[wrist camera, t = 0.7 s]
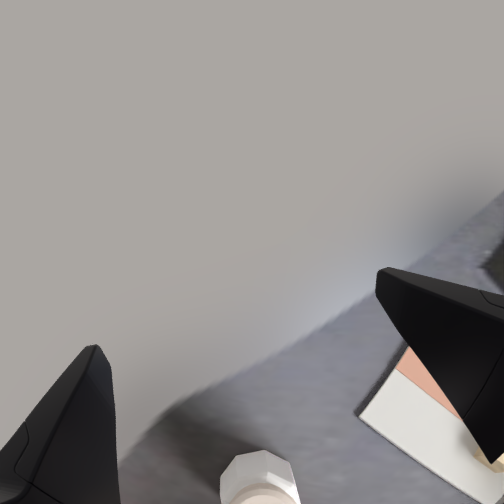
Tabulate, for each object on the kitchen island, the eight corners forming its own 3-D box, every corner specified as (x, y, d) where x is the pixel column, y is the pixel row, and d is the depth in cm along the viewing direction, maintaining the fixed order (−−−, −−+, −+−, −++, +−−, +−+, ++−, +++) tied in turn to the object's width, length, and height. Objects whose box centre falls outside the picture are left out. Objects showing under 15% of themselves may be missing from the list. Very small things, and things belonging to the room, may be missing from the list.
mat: (542, 392, 17) (545, 390, 17) (491, 510, 12) (494, 510, 11) (436, 296, 25) (438, 294, 25) (357, 417, 19) (360, 416, 19)
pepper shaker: (205, 473, 17) (162, 497, 8) (266, 435, 19) (279, 430, 10) (249, 526, 15) (245, 588, 6) (311, 487, 16) (360, 520, 7)
